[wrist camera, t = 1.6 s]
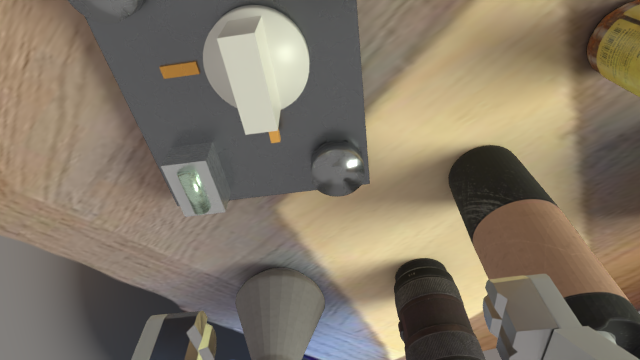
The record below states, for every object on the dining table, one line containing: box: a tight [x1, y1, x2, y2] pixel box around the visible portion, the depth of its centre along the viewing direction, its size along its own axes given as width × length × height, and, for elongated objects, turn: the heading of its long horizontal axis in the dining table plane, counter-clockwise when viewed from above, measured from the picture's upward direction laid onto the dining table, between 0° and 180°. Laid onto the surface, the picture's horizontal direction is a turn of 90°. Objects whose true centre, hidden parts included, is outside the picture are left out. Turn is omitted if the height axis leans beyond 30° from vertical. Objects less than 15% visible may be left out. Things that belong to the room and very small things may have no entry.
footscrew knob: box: [203, 5, 309, 143], centre depth 29 cm, size 11×8×6 cm
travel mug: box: [449, 145, 640, 359], centre depth 32 cm, size 8×8×20 cm
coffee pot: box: [235, 268, 325, 360], centre depth 47 cm, size 21×12×15 cm, turn 144°
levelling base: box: [68, 0, 370, 217], centre depth 31 cm, size 24×20×6 cm
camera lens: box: [394, 259, 485, 360], centre depth 44 cm, size 8×8×15 cm
